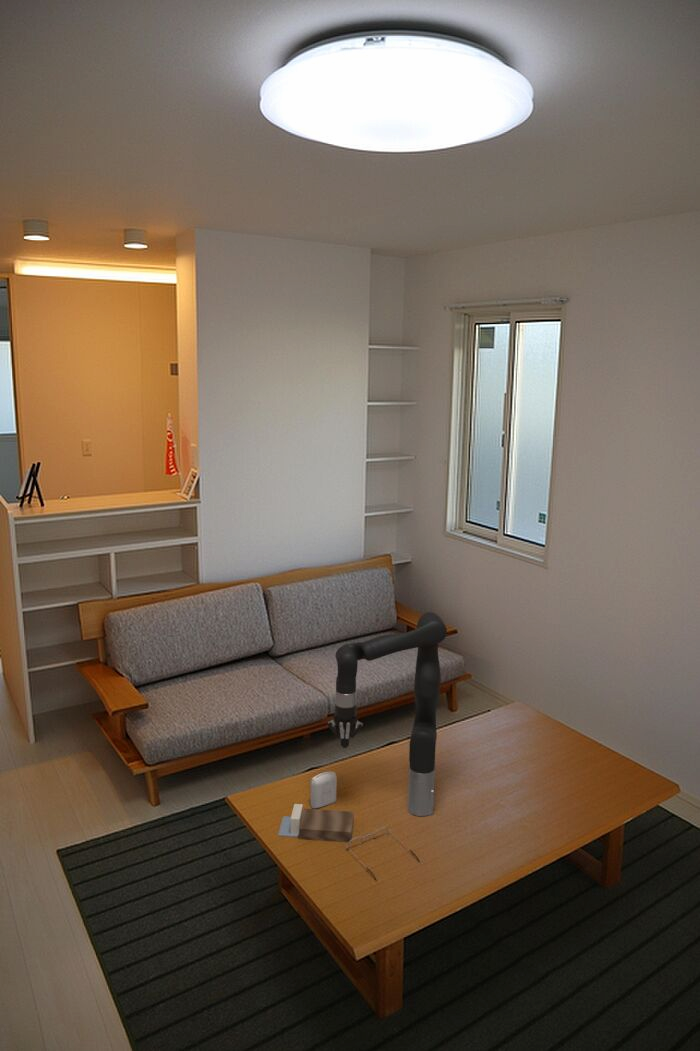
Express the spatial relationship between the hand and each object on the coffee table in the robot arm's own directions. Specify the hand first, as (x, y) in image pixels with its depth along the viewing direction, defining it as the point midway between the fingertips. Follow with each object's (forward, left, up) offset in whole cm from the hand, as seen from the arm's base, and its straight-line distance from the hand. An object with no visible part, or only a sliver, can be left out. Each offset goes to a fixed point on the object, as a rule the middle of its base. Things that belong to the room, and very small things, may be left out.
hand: (344, 746), depth 270 cm
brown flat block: (+5, +10, -27) cm, 29 cm away
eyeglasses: (-15, +22, -28) cm, 39 cm away
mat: (+18, +10, -27) cm, 34 cm away
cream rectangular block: (+16, +10, -24) cm, 30 cm away
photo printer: (+8, -6, -27) cm, 29 cm away
